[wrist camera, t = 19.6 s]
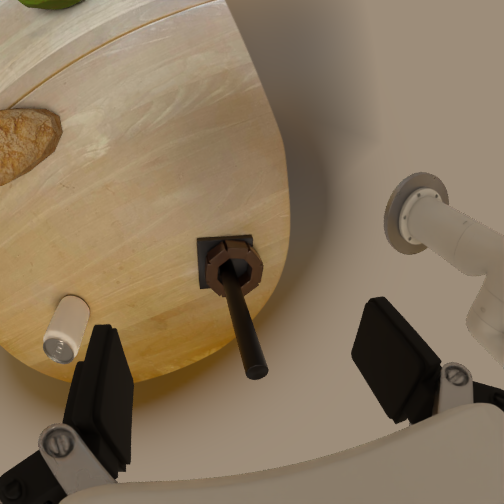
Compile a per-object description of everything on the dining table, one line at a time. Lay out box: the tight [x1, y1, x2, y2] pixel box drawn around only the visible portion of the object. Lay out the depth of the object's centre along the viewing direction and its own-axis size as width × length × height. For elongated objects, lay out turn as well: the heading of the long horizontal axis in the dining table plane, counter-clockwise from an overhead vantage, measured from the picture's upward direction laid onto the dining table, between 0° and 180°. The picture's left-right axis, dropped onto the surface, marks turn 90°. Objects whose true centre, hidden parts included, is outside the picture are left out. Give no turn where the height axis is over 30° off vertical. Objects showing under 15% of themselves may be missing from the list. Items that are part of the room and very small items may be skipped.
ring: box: [205, 240, 263, 297], centre depth 51 cm, size 9×9×3 cm
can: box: [43, 296, 90, 364], centre depth 45 cm, size 6×6×12 cm
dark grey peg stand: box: [197, 235, 268, 380], centre depth 42 cm, size 9×9×25 cm
